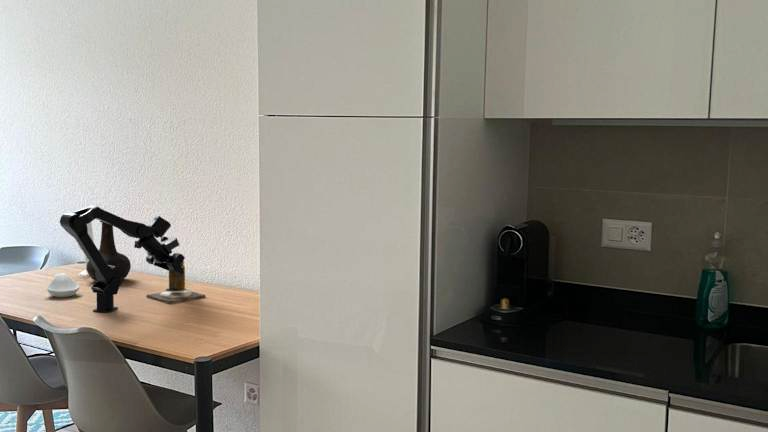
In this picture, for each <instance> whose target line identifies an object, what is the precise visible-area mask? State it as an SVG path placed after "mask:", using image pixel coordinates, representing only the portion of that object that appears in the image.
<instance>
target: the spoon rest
mask: <svg viewBox="0 0 768 432" xmlns="http://www.w3.org/2000/svg"><path fill="white" fill-rule="evenodd" d="M46 290H47V292H48V293H49V294H50V296H53V297H55V298H69V296H70V297H72V296H74V295H75V294H77V292H78V291H79V290H80V284H78V283H77V282H76V281H75V280H74V279H73V278H71V277H70V276H69V275H68V274H67V273H66V272H63V273H55V276H54V277H53V279H52V280H51V281H50V282H49V283H48V285H47V286H46Z"/></svg>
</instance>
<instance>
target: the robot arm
mask: <svg viewBox="0 0 768 432" xmlns="http://www.w3.org/2000/svg"><path fill="white" fill-rule="evenodd" d="M95 219H96V220H99V222H100V221H102V222H105V223H107V224H109V225H112V226H113V228H116V229H118V230H119V231H121V232H122V233H124V234H125V235H126V236H128V237H130V238H133V239H137V240H135V241H134V246H133V247H134V248H135V249H138V250H139V249H140V250H141V248H143V249H144V250H145V252H147V253H146V254H147V256H146V257H145V262H147V264H149V265H153V266H155V267H158V268H160V269H163V270H166V271H168V272H169V269H170V270H173V271H175V272H177V273H180V274H183V273H184V271H183V269H182V267H181V263H182V261H183V260H184V261H185V259H186V257H185V255H183V254H182V253H178V252H175V253H173V251H172V250H174V249H175V248H177V247H180V243H179V240H178V238H177V237H174V236H168V237H167V236H165V234H166V233H167V232H168V231H169V229H170V228H171V227H172V225H171V222H169V221H168V220H166V219H165V218H163V217H161V216H160V215H155V217H154V218H153V220H152V221H151V222H150V224H149V225H147V224H145V223H143V222H138V221H133V220H129V219H126V218H123V217H121V216H119V215H116V214H114V213H111V212H110V211H107V210H104V209H103V208H101V207H99V206H97V205H90V206H89V205H88V207H85V208H81V209H79V210H76V211H72V212H65V213H63V214H62V215H61V217H60V219H59V224H60V226H61V228H63V230H65V232H66V233H67V234H69V235H70V236H71V237H72V238H74V240H75V241H76V242H77V245H78V244H79V246H80V247H81V249H82V250H83V251H82V250H81V249H80V250H81V251H82V252H83V254H84V255H86V257H87V258H88V261H90V263H91V264H92V266H93V267H94V269H95V275H96V279H97V281H95V283H94V284H93V285H92V286H91V291H92V293H94V294H96V308H95V309H93V310H92V312H95V313H111V312H114V311H115V310H118V306H115V303H114V302H115V300H114V299H115V298H114V297H115V295H117V294H118V292H119V289H120V286H121V285H122V282H123V280H122V279H121V277H120V276H122V275H121V274H120V273H119V272H118V270H117V268H116V267H114V266H110V265H107V263H106V261H105V260H104V258H103V257H102V255H101V253H100V252H99V248H98V247H97V245H96V244H95V241H94V242H93V241H92V239H91V238H90V236H89V234H88V229H87V224H88V223H90V222H91V223H92V222H93V221H94V220H95ZM102 222H101V223H102ZM159 238H160V241H159V240H158V239H159ZM79 246H78V247H79ZM172 253H173V254H172Z"/></svg>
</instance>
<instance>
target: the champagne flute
mask: <svg viewBox="0 0 768 432" xmlns="http://www.w3.org/2000/svg"><path fill="white" fill-rule="evenodd" d="M87 229H88V234H89V236H90V238H91V239H92V241H93V242H94V243H95V239H94V232H93V224H92V221H91V222H90V223H88V224H87ZM77 246H78V248H79V249H80V250H81V251H82V252H83V250H82V249H81V247H80V246H79V244H78V243H77ZM84 255H85V254H84ZM84 260H85V265H84V266H85V269H84V270H83V271H81V272H80V273H79V275H80V274H81V275H80V276H89V274H88V272H87V263H88V261H89V260H88V258H87V257H86V255H85V257H84Z"/></svg>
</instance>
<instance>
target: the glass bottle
mask: <svg viewBox="0 0 768 432" xmlns="http://www.w3.org/2000/svg"><path fill="white" fill-rule="evenodd" d="M99 223H101V233H100V234H101V235H100V244H99V248H98V250H99V252H100V253H101V255H102V257H103V258H104V260H105V261H106V263H107V265H110V266H114V267H116V268H117V270H118V272H119V273H120V274H121V275H122V276H120V277H121V279H122V281H123V280H124V279H126V277H127V276H128V275H129V273H130V271H131V267H132V265H131V264H132V263H131V261H130V259H129V258H128V256H126V255H125V254H123V253H121V252H118V250H117V248H116V245H115V244H116V243H115V236H114V235H115V234H114V226H112V225H109V224H107V223H105V222H102V221H100V220H99ZM87 272H88V274H89V275H88V276H89V277H90V278H91V279H92V280H93V281H94V282H96V281H97V279H96V275H95V269H94V267H93V266H92V264H91V263H90V261H89V260H88V263H87Z"/></svg>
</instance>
